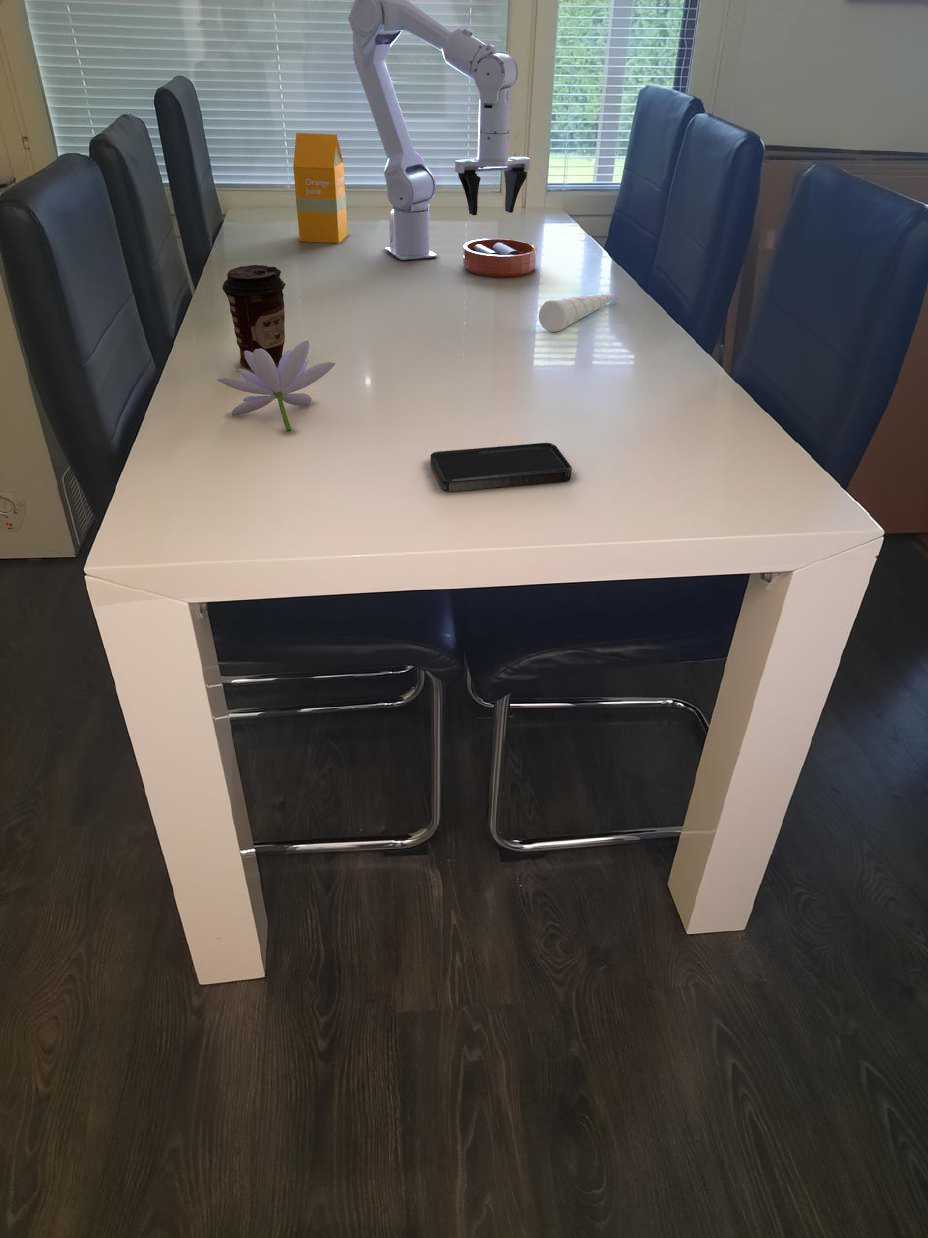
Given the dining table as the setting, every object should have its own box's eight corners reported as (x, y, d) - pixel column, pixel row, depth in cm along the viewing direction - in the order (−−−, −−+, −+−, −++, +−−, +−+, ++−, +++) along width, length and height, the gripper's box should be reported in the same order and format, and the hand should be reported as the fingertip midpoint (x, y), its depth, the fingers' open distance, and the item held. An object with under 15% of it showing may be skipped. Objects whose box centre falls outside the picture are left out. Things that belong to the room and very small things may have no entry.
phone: (574, 471, 95) (442, 482, 92) (573, 480, 96) (442, 492, 93) (552, 441, 101) (428, 451, 98) (551, 450, 102) (428, 460, 99)
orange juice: (309, 233, 190) (301, 130, 178) (348, 235, 189) (342, 132, 178) (299, 241, 184) (289, 135, 172) (339, 243, 183) (332, 137, 171)
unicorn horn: (632, 302, 152) (636, 274, 149) (560, 335, 137) (563, 304, 134) (609, 297, 154) (612, 269, 151) (536, 329, 139) (538, 299, 136)
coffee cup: (305, 359, 125) (296, 266, 118) (277, 379, 119) (266, 281, 111) (252, 352, 127) (240, 260, 120) (222, 370, 121) (207, 274, 113)
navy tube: (487, 253, 170) (498, 238, 169) (498, 264, 172) (509, 249, 171) (502, 261, 165) (513, 246, 164) (513, 272, 167) (524, 258, 166)
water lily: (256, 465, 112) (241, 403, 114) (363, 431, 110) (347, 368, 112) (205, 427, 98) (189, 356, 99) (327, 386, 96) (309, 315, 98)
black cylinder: (474, 265, 170) (468, 250, 168) (488, 255, 171) (482, 240, 168) (490, 274, 165) (483, 258, 163) (504, 264, 166) (497, 248, 163)
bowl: (452, 262, 172) (452, 241, 170) (515, 256, 177) (516, 236, 174) (481, 280, 162) (482, 258, 159) (547, 274, 166) (549, 252, 164)
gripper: (466, 136, 151) (464, 219, 159) (539, 133, 155) (534, 214, 163) (450, 130, 156) (450, 212, 164) (521, 128, 161) (517, 207, 169)
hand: (491, 212), depth 164 cm, fingers open, 7 cm apart
